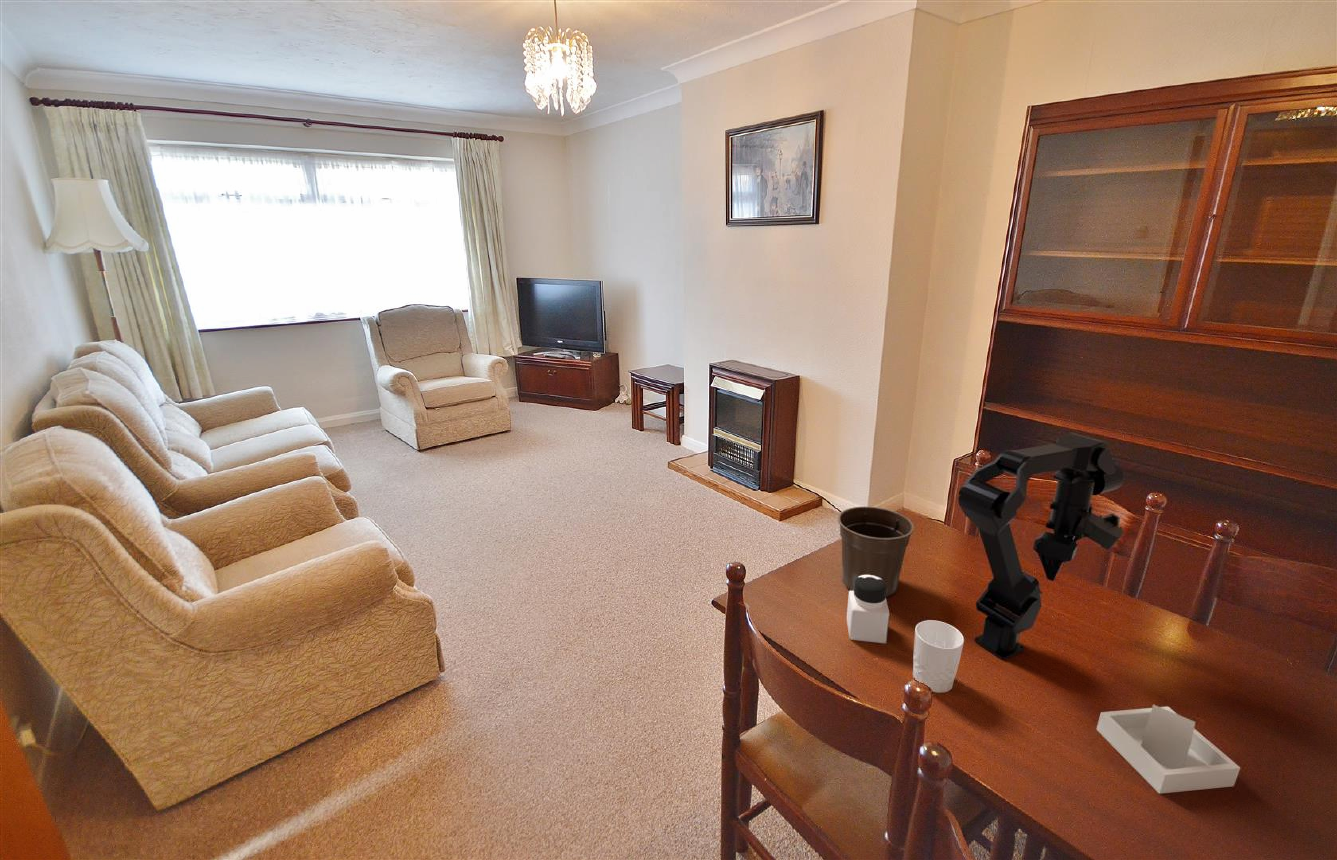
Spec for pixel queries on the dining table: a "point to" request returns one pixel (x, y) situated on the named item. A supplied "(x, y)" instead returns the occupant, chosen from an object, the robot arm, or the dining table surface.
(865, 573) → the plant pot
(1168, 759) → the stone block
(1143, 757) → the tray
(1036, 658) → the dining table surface
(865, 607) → the medicine bottle
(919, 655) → the white cup
